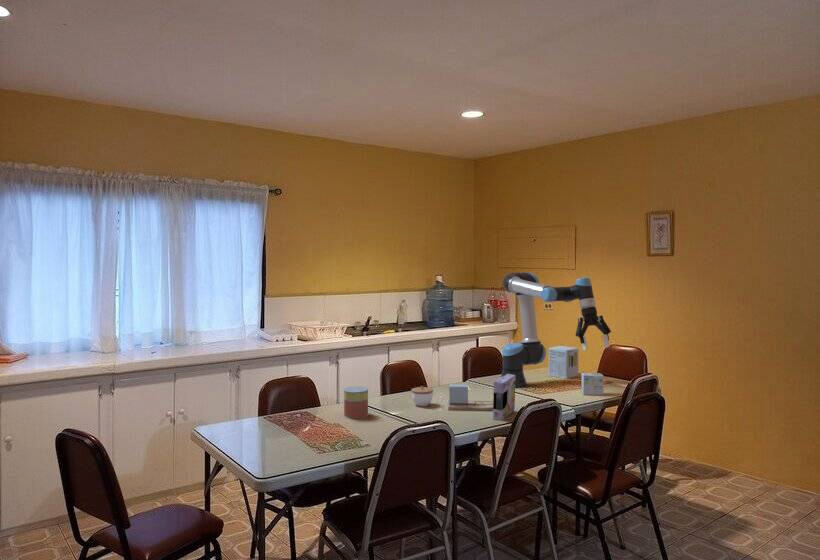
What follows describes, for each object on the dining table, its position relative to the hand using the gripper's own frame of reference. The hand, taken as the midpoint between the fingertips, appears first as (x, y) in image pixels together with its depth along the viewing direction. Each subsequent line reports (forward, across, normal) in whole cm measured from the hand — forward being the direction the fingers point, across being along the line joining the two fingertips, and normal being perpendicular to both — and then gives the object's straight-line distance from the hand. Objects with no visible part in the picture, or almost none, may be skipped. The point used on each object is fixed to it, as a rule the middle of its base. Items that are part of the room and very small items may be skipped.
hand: (596, 348), depth 293 cm
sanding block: (+18, -71, +21) cm, 76 cm away
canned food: (+16, -122, +25) cm, 125 cm away
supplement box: (+11, +21, +64) cm, 69 cm away
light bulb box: (+23, +7, +20) cm, 31 cm away
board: (+20, -64, +18) cm, 69 cm away
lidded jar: (+16, -86, +31) cm, 93 cm away
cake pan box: (+26, -58, +1) cm, 64 cm away
